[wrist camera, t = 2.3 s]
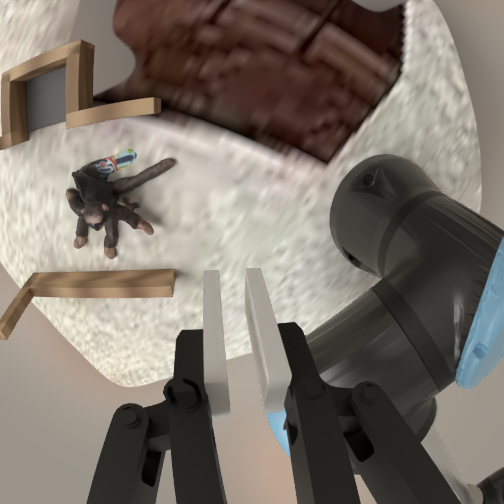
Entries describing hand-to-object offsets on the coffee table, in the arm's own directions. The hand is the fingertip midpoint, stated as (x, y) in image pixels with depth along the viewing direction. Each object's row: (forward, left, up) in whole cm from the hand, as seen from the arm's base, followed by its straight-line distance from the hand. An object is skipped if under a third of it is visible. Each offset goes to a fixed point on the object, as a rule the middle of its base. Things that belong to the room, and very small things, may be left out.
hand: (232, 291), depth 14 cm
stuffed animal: (+12, 0, -17) cm, 21 cm away
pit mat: (+19, -13, -16) cm, 28 cm away
